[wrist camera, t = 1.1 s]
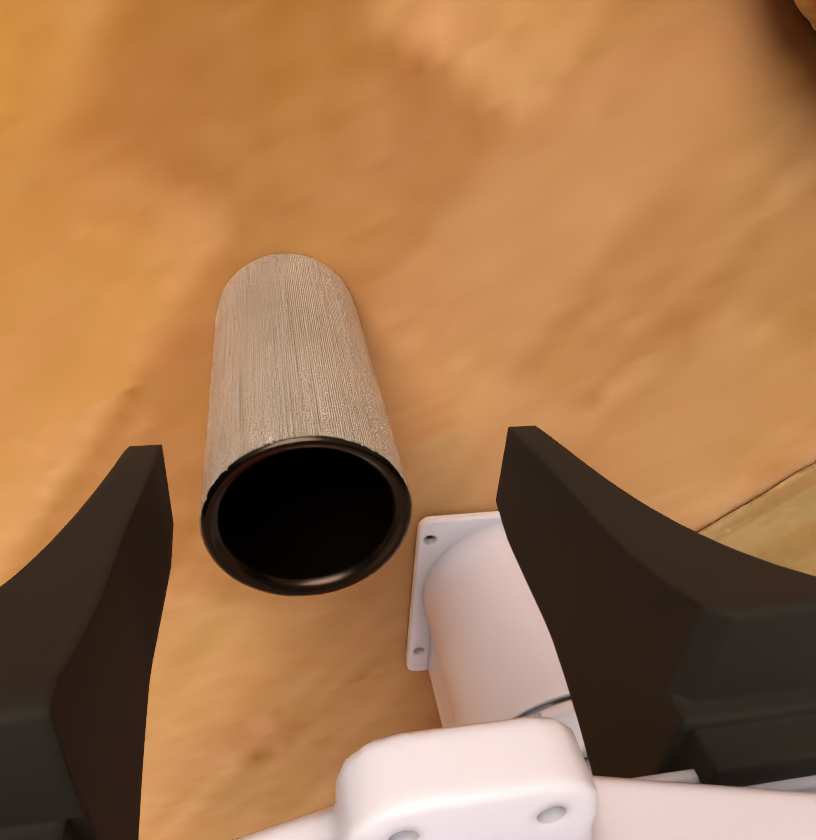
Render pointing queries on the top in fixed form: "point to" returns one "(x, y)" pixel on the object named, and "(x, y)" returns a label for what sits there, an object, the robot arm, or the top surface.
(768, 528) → the caddy
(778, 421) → the top surface
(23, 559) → the top surface
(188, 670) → the top surface
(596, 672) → the robot arm
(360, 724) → the top surface
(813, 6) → the pastry
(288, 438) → the planter
